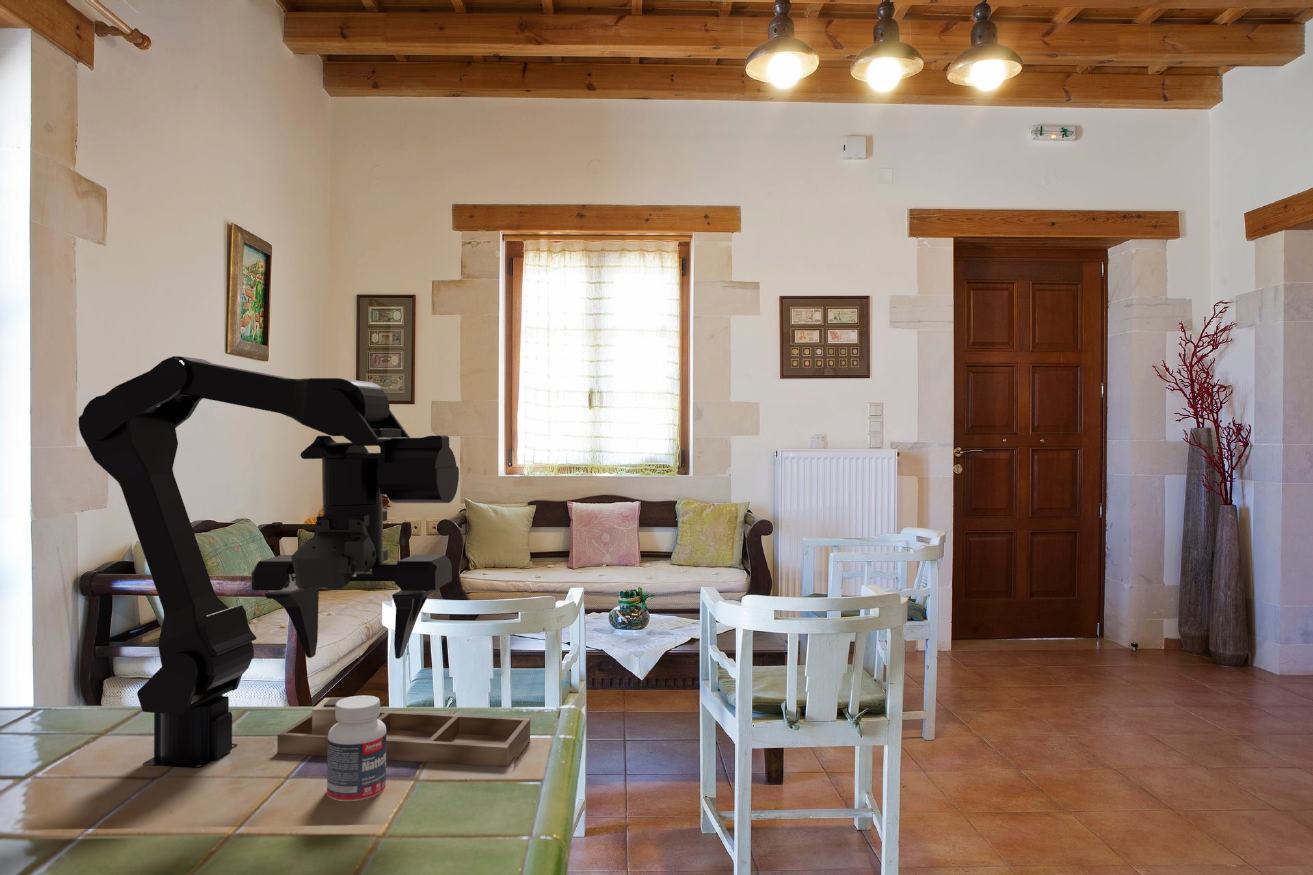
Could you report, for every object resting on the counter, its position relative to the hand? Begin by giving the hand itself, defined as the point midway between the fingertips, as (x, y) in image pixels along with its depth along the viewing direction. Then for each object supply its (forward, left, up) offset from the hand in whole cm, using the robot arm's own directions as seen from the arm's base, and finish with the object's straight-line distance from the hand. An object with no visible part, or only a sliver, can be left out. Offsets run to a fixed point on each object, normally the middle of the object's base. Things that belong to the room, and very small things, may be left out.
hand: (354, 657), depth 85 cm
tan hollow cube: (-5, +6, -11) cm, 14 cm away
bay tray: (+3, +6, -12) cm, 13 cm away
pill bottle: (+3, -5, -12) cm, 13 cm away
